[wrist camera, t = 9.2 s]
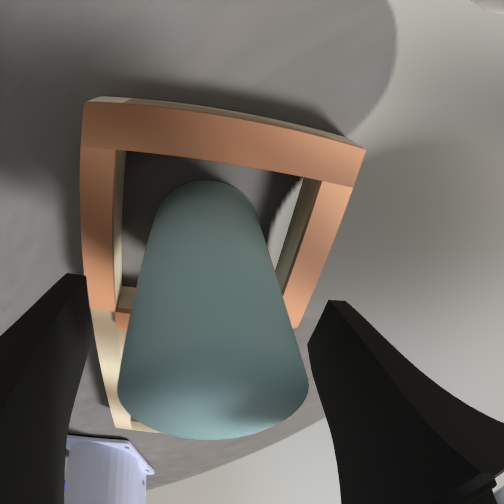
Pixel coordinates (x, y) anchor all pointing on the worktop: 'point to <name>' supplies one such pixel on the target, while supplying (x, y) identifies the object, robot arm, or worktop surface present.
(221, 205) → the peg
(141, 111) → the wooden slot frame
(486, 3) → the dixie cup
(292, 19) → the worktop surface
